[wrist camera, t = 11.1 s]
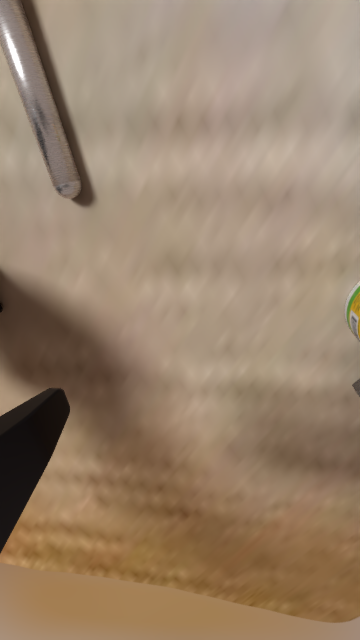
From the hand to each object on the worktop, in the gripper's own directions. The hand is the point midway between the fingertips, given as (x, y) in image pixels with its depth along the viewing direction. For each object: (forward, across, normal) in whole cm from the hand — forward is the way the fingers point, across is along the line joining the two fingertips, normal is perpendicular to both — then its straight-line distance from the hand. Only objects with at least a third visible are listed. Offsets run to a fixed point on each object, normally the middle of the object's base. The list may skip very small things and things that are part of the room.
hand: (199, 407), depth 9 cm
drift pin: (+12, +10, -11) cm, 19 cm away
